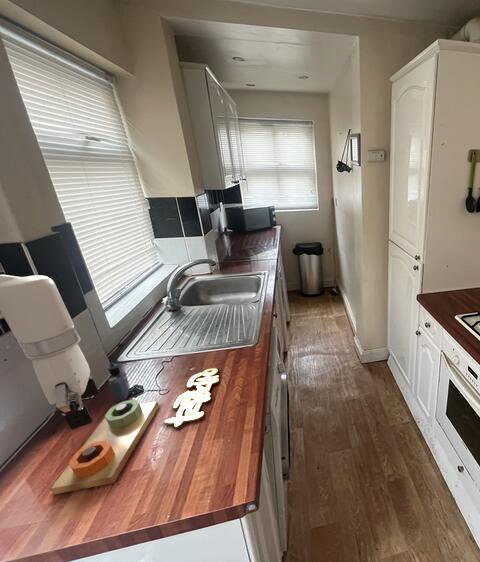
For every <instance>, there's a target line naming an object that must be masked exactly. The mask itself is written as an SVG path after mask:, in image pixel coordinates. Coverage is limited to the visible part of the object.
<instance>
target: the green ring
mask: <svg viewBox="0 0 480 562" xmlns="http://www.w3.org/2000/svg"><path fill="white" fill-rule="evenodd" d="M121 404H126V405H127V407H128V409H129V412H127V413H125V414H123V415H121V416H118V413H117V411H116V407H117V406H119V405H121ZM140 404H141V403H139V402H138V401H137V399H130V400H125V401H123V402H120V403H117V404H115V405H114V406H112V407H111V408H109V409H108V411H107V412H106V414H105V415H104V418H106V420H107V422H108V424H109V426H110V427H111V428H112V429H115V428H121V427H126V426H127V425H129V424H131V423H132V422H134V421H136V420H137V419H138V418H139V416H140V415H141V413H142V409H141V407H140Z"/></svg>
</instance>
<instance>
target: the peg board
mask: <svg viewBox="0 0 480 562" xmlns="http://www.w3.org/2000/svg"><path fill="white" fill-rule="evenodd" d="M139 404H140V407H141V409H142V413H141V415H140V416H139V418H138V419H137V420H136V421H134V422H132V423H131V424H129V425H127V426H126V427H121V428H115V429H112V428H111V427H110V426H109V424H108V422H107V420H106V418H105V417H103V419H102V421H101V422H100V423H99V424H98V426H97V427H96V428H95V430H94V431H93V433H92V434H91V435H90V437H89V438H88V439H87V440H86V442H85V443H84V444H83V446H81V448H80V450H81V449H82V448H84V447H86V446H87V445H89V444H91V443H93V442H98V441H104V440H107V441H108V443H109V444H110V445H111V447H112V449H113V451H114V453H115V455H114V457H113V459H112V460H111V462H110V463H109V465H108V466H106V467H105V468H103V469H102V470H100V471H99V472H97V473H95V474H94V475H92V476H87V477H81V478H77V476H76V475H75V473H74V472H73V470H72V469H71V467H70V465H69V464H68V465H67V466H66V467H65V469H64V470H63V471H62V473H61V474H60V475H59V477H58V478H57V480H56V481H55V482H54V484H53V485H52V486H51V487H50V491H51V492H52V494H53V495H54V496H55V495H59V494H65V493H69V492H74V491H80V490H84V489H89V488H94V487H99V486H100V487H101V486H104V485H105V486H106V485H111V484H114V483H115V482H116V481H117V480H118V478H119V476H120V474H121V472H122V471H123V469H124V467H125V465H126V463H127V462H128V460H129V459H130V457H131V455H132V453H133V452H134V451H135V448H136V447H137V445H138V444H139V442H140V440H141V438H142V436H143V435H144V433H145V431H146V430H147V428H148V426H149V425H150V422H151V421H152V420H153V417H154V416H155V414H156V413H157V411H158V409H159V407H160V405H159V402H158V401H150V402H145V403H144V402H143V403H139ZM116 411H117V413H118V416H121V415H123V414H125V413H127V412H129V409H128V407H127V405H126V404H121V405H119V406H117V407H116ZM99 455H100V454H98V452H97V450H96V448H95V447H89V448H87V449H86V450H84V451H83V453H82V456H83V457H84V459H85V461H86V462H89V461H91V460H93V459H94V458H96V457H97V456H99ZM86 462H85V463H86Z"/></svg>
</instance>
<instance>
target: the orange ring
mask: <svg viewBox="0 0 480 562" xmlns="http://www.w3.org/2000/svg"><path fill="white" fill-rule="evenodd" d="M89 447H95V448H96V450H97V452H98V454H100V455H99V456H97V457H96V458H94V459H93V460H91V461H89V462H86V461H85V459H84V457H83V456H82V453H83V451H84V450H86V449H87V448H89ZM81 448H82V447H81ZM81 448H80V449H79V450H77V451H76V452H75V453H74V454H73V456H72V458H71V459H70V460H69V461H68V465H70V467H71V469H72V470H73V472H74V473H75V475H76V476H77V478H81V477H87V476H92V475H94V474H95V473H97V472H99V471H100V470H102V469H103V468H105V467H106V466H108V465H109V463H110V462H111V460H112V459H113V457H114V455H115V453H114V451H113V449H112V447H111V445H110V444H109V443H108V441H107V440H104V441H98V442H93V443H91V444H89V445H87V446H86V447H84V448H82V449H81ZM85 462H86V463H85Z"/></svg>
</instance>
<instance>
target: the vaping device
mask: <svg viewBox="0 0 480 562" xmlns="http://www.w3.org/2000/svg"><path fill="white" fill-rule="evenodd" d="M107 371H108V372H109V374H110V376H111V377H110V378H109V379H108V385H109V386H108V387H109V390H110V391H111V394H112V396H113V398H114V400H115V402H116V403H117V404H119V403H121V402H124V401H127V398H128V396H129V395H130V390H129V388H128V385H127V383H126V380H125V378H124V376H123V374H122V372H121V370H120V367H119V364H117V363H114V362H110V363H109V364H108V366H107Z"/></svg>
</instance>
